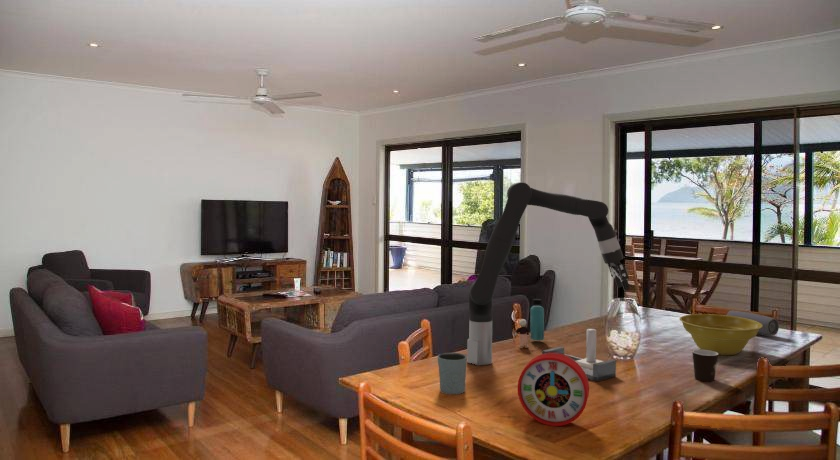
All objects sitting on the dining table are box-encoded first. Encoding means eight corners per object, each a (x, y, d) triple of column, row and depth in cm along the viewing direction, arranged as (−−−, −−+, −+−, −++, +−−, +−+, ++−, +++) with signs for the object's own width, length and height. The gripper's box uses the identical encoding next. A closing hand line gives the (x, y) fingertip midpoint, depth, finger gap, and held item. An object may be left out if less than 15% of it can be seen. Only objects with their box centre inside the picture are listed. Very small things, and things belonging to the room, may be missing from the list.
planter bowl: (744, 366, 233) (745, 332, 232) (665, 350, 257) (666, 320, 257) (773, 352, 254) (774, 321, 254) (697, 339, 278) (698, 311, 278)
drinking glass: (457, 397, 195) (458, 361, 194) (431, 391, 200) (432, 357, 199) (471, 389, 203) (472, 354, 203) (446, 384, 209) (446, 350, 208)
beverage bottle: (544, 343, 268) (544, 300, 267) (529, 343, 269) (530, 300, 268) (544, 340, 275) (544, 298, 274) (529, 339, 276) (530, 297, 275)
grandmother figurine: (527, 345, 265) (528, 317, 264) (532, 347, 261) (532, 319, 261) (512, 346, 262) (512, 318, 262) (516, 349, 259) (517, 320, 258)
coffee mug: (707, 384, 209) (708, 356, 209) (686, 377, 217) (687, 351, 216) (728, 379, 215) (729, 352, 214) (707, 373, 222) (707, 347, 222)
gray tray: (597, 381, 212) (597, 365, 212) (542, 365, 233) (542, 350, 232) (615, 376, 218) (615, 360, 218) (560, 361, 239) (560, 346, 239)
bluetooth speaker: (724, 329, 300) (724, 310, 300) (736, 327, 304) (737, 308, 303) (766, 338, 279) (767, 318, 279) (779, 337, 283) (779, 316, 283)
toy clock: (517, 421, 174) (517, 354, 173) (520, 414, 179) (521, 349, 178) (586, 430, 167) (588, 361, 166) (588, 423, 172) (589, 356, 171)
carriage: (593, 373, 215) (593, 333, 214) (575, 368, 221) (576, 329, 221) (606, 369, 220) (607, 330, 219) (588, 365, 226) (589, 326, 225)
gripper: (596, 251, 239) (609, 289, 239) (606, 253, 225) (620, 293, 225) (614, 245, 239) (626, 283, 239) (625, 247, 225) (639, 287, 225)
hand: (623, 288), depth 232 cm, fingers open, 8 cm apart
